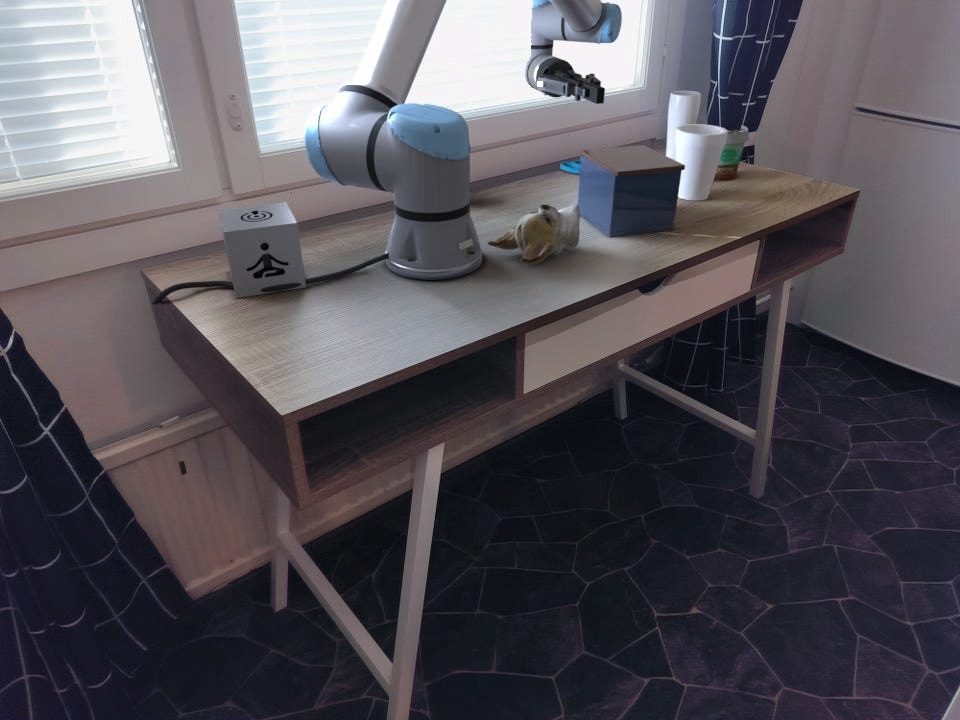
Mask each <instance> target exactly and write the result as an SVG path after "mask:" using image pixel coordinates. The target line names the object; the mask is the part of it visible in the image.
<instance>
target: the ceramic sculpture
mask: <svg viewBox="0 0 960 720" xmlns="http://www.w3.org/2000/svg"><path fill="white" fill-rule="evenodd" d="M580 223H581V215H580V211H579V205H578V203H575V204H574V205H570V206H567V207H563V208H561V209H560V210H558V209H557V208H556V207H554V206H552V205H549V204H541V205H540V206H539V208H538V210H536V211H531V212H528V213H525V214H524V215H523V216H522V217H521V218H520V219H519V220H518V222H517V225H515V228H512V229H511V230H509V231H506V232H505V233H504V234H503V235H502V236H500V237H499V238H497V240H489V241H487V245H488V246H491V247H493V248H496V249H497V248H498V249H501V250H506V251H509V250H510V251H511V250H516V249H519V250H520V252H521V253H522V256H521V259H520V260H519V262H520V263H521V264H527V265H535V264H540V263H542V262H543V261H544V260H545V259H547V258H548V256H549V255H551V254H554V253H555V252H557V251H560V250H566V251H570V252H571V251H574V250H575V249H576V248H577V247H578V245H579V243H580V234H581V231H580V229H581V228H580V227H581V226H580V225H581V224H580Z"/></svg>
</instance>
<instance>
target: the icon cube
mask: <svg viewBox="0 0 960 720" xmlns="http://www.w3.org/2000/svg"><path fill="white" fill-rule="evenodd" d="M217 214H218V218H219V224H220V230H221V235H222V239H223V245H224V249H225V255H226V260H227V265H228V269H229V274H230V279H231V282H233V286H234V288H233V291H234V295H235V298H236V299H241V298H246V297H247V298H248V297H253V296H260V295H265V294H266V295H267V294H271V293H278V292H279V293H280V292H286V291H291V290H298V289H305V288H306V287H307V285H306V284H305V279H306V277H305V270H304V261H303V256H302V255H303V254H302V248H301V247H302V246H301V241H300V234H299V227H298V226H299V225H298V222H297V220H296V217H295V215H294V213H293V212H292V210H291V209H290V207H289V204H288V203H287V202H286V201H284V202H275V203H268V204H258V205H251V206H243V207H233V208H225V209H217ZM289 283H301V285H300V286H298V287H295V288H290V289H285V290H280V291H272V292H262V291H261V289H263V288H265V287H270V286H275V285H281V284H289Z"/></svg>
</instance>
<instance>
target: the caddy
mask: <svg viewBox="0 0 960 720" xmlns="http://www.w3.org/2000/svg"><path fill="white" fill-rule="evenodd" d="M580 160H581V162H580V174H579V179H578V192H577V193H578V194H577V204H578V205H579V211H580V217H583V218H584V219H585V220H586V221H588V222H589V223H590V224H592V225H593V226H594V227H595V228H597V229H598V230H600V231H601V232H602V233H604V234H605V235H606V236H607V237H609V238H612V237H619V236H627V235H628V236H629V235H636V234H637V235H638V234H644V233H653V232H660V231H668V230H669V231H670V230H674V228H675V220H676V213H677V206H678V199H679V197H678V193H679V186H680V178H681V171H682V170H678V171H668V172H658V173H647V174H637V175H627V176H616V175H614V174H613V173H611V172H609V171H608V170H606V169H604V168H603V167H601V166H599V165H598V164H596V163H594V162H593V161H591V160H589V159H588V158H586V157H584V156H582V155H581V154H580Z"/></svg>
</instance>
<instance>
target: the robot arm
mask: <svg viewBox="0 0 960 720" xmlns="http://www.w3.org/2000/svg"><path fill="white" fill-rule="evenodd" d="M447 1H448V0H387V1H386V3H385V5H384V8H383V11H382V13H381V15H380V18H379V20H378V22H377V24H376V27H375V29H374V32H373V34H372V37H371V39H370V41H369V44H368V46H367V48H366V50H365V53H364V55H363V58H362V60H361V62H360V64H359V67H358V69H357V72H356V74H355V76H354V79H353V81H348V82H344V83H343V84H341V85H340V87H339V88H338V90H337V93H336V94H335V97H334V100H333V101H332V104H331V103H329V104H326V103H325V104H322V105H320V106H317V107H315V108H314V109H313V110H312V111H311V113H310V114H309V116H308V118H307V120H306V125H305V129H304V145H305V147H304V148H305V149H306V156H307V158H308V161H309V163H310V165H311V167H312V168H313V170H314V172H315V173H316V174H317V175H318V176H319V177H320V178H322V179H324V180H326V181H328V182H334V183H337V184H338V185H340V186H343V187H347V186H348V187H349V186H350V187H356V188H361V189H369V190H375V191H380V192H387V193H391V194H393V207H394V219H393V223H392V227H391V230H390V232H389V233H390V234H389V237H388V242H387V246H386V249H385V253H383V254H380V255H377V256H375V257H373V258H370V259H367V260H366V261H363V262H361V263H359V264H356V265H354V266H351V267H348V268H344V269H342V270H339V271H335V272H331V273H327V274H322V275H318V276H313V277H308V278H305V284H306V286H307V285H311V284H317V283H321V282H326V281H330V280H333V279H338V278H340V277H344V276H347V275H350V274H354V273H356V272H359V271H362V270H363V269H365V268H368V267H370V266H372V265H375V264H377V263H380V262H383V261H386V266H387V268H388V269H389V270H390V271H391V272H392V273H395V274H396V275H398V276H401V277H404V278H405V277H406V278H409V279H414V280H423V281H425V280H426V281H439V280H448V279H454V278H458V277H462V276H466V275H468V274H471V273H472V272H474V271H475V270H477V269H478V268H479V267H480V266H481V265H482V262H483V250H482V245H481V242H480V239H479V236H478V234H477V230H476V227H475V225H474V222H473V219H472V216H471V168H470V167H471V150H472V148H471V142H470V133H469V125H468V122H467V121H466V120H465V118H464V117H463V116H462V115H461V114H460V113H458V112H457V111H455V110H452V109H450V108H448V107H444V106H441V105H440V106H439V105H435V104H428V103H423V104H420V103H416V102H415V103H406V101H407V99H408V96H409V93H410V91H411V88H412V86H413V83H414V81H415V79H416V76H417V74H418V71H419V70H420V67H421V64H422V61H423V59H424V57H425V54H426V52H427V50H428V47H429V45H430V42H431V40H432V37H433V35H434V33H435V30H436V27H437V25H438V23H439V21H440V18H441V15H442V13H443V10H444V8H445V5H446V3H447ZM531 9H532V20H531V34H532V35H531V39H532V40H531V43H532V45H531V57H530V59H529V61H528V62H527V65H526V69H525V78H526V81H527V83H528V84H529V85H530V86H531V87H530V88H531V89H534V90H536V91H538V92H540V93H542V94H543V96H548V97H551V98H554V99H555V98H556V99H557V98H561V97H566V98H571V97H572V96H573V97H574V101H576V102H581V100H582V99H584V100H587V101H589V102H590V103H593V104H595V105H602V104H604V103H605V92H606V88H605V87H603V86H602V81H601V80H600V79H599V78H597V77H596V74H594V73H593V72H592V73H589V74H585V77H583V75H582V74H580V73H577V72H576V71H575V70H574V68H573V65H572V64H571V63H570V62H569V61H567V60H565V59H562V58H559V57H557V56H554V55H553V53H554V52H553V49H554V42H555V41H559V42H577V43H590V44H597V45H600V44H613V43H615V42H616V41H617V39H618V38H619V35H620V32H621V29H622V22H623V14H622V9H621V7H620V5H619V4H617V3H610V2H602V1H601V0H533V5H532V8H531ZM300 285H301V283H289V284H281V285H275V286H270V287H265V288H263V289H261V291H262V292H272V291H280V290H285V289H290V288H295V287H298V286H300ZM213 287H215V288H216V287H221V288H222V287H223V288H230V289H234V286H233V282H232V281H229V280H210V281H209V280H207V281H206V280H205V281H187V282H179V283H177V284H173V285H170V286H168V287H166V288H165V289H163V290H162V291H160V292H159V293H158V294H157V295H156V296H155V297H154V298H153V300H152V302H151V305H153V306H155V305H159V304H160V303H161V302H162V300H164V299H165V298H166V297H168V296H169V295H171V294H172V293H175V292H177V291H180V290H185V289H196V288H197V289H198V288H213ZM280 292H281V291H280ZM178 466H179V470H180V475H183V476H185V475H186V474H187V473H188V471H187V468H186V463H185V460H182V461H178Z"/></svg>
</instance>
